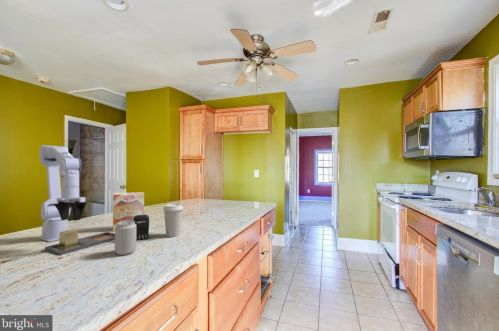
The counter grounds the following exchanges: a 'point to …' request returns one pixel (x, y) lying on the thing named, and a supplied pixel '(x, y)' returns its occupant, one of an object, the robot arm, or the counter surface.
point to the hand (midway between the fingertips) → (70, 220)
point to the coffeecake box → (127, 206)
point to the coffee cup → (173, 219)
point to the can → (125, 237)
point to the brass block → (68, 239)
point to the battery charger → (141, 226)
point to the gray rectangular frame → (84, 243)
